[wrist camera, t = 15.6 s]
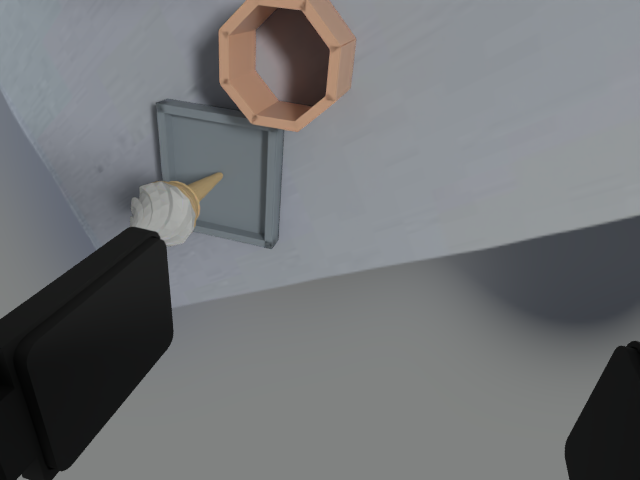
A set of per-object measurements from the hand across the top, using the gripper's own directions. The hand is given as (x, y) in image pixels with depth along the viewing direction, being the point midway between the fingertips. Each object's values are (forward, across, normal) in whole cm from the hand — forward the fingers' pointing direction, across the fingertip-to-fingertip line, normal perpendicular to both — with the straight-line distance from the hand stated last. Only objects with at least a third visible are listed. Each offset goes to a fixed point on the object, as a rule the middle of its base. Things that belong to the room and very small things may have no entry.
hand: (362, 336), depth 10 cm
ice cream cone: (+33, +19, +12) cm, 40 cm away
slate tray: (+33, +19, +12) cm, 40 cm away
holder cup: (+33, +12, 0) cm, 35 cm away
